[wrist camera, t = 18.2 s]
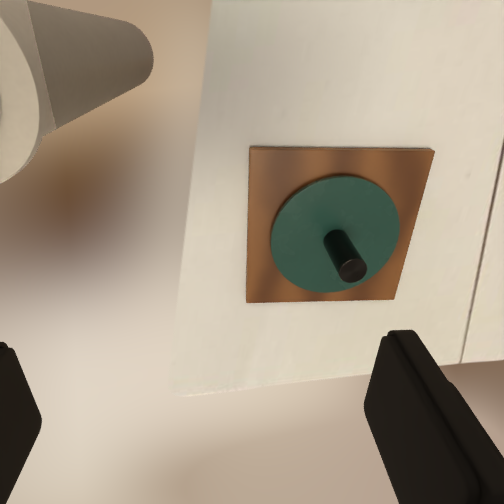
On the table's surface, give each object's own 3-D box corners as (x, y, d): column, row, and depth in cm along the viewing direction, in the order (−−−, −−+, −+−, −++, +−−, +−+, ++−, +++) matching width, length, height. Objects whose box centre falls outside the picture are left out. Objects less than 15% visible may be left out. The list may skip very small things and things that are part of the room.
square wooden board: (245, 298, 44) (246, 303, 43) (249, 146, 35) (250, 149, 34) (390, 294, 45) (394, 299, 44) (430, 148, 36) (435, 151, 35)
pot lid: (266, 287, 42) (274, 330, 36) (273, 172, 35) (284, 201, 29) (381, 285, 43) (407, 327, 37) (408, 173, 36) (447, 201, 30)
